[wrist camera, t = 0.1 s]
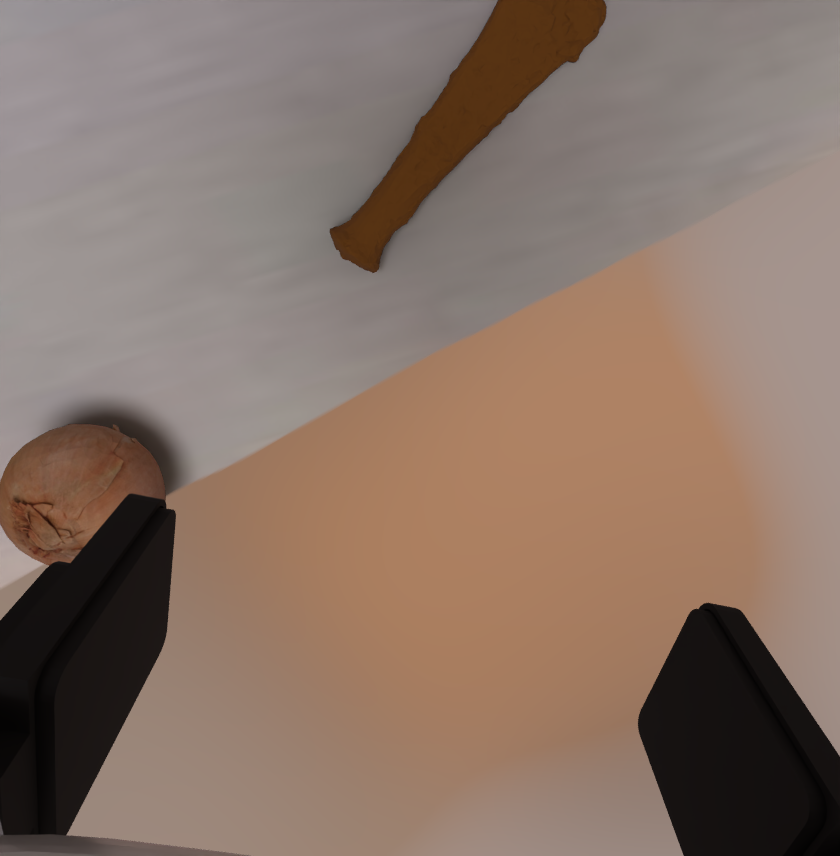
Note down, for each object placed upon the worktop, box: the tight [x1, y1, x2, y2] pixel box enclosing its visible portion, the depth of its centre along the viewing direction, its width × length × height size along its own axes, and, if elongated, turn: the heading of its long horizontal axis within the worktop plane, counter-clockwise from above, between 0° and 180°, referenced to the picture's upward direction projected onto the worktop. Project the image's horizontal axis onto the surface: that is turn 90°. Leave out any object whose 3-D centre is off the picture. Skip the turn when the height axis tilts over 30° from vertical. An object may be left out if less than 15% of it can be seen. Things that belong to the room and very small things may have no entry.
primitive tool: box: [330, 0, 606, 273], centre depth 35 cm, size 19×6×4 cm, turn 142°
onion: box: [0, 424, 166, 566], centre depth 41 cm, size 10×9×10 cm
